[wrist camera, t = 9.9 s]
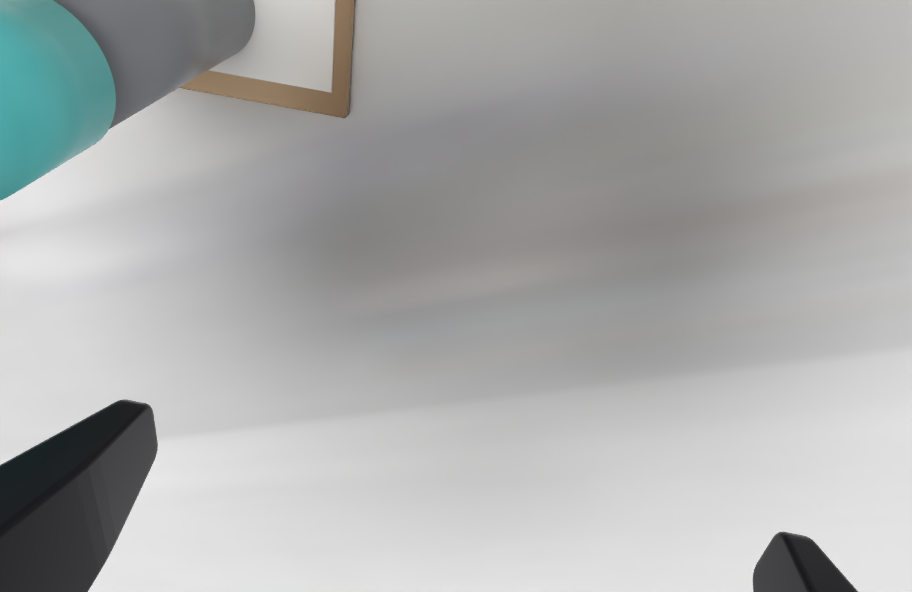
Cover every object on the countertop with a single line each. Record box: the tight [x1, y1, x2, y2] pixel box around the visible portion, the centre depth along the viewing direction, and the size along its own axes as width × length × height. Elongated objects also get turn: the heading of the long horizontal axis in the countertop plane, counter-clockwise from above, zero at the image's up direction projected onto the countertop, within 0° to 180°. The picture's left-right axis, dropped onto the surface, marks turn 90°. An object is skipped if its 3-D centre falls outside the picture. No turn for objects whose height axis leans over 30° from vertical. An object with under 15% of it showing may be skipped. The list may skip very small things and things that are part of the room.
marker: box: [0, 0, 255, 200], centre depth 15 cm, size 3×3×9 cm
